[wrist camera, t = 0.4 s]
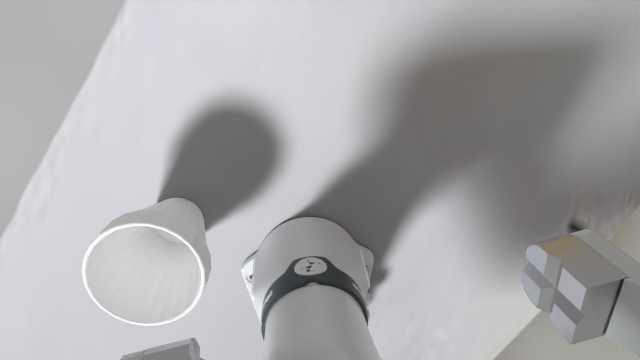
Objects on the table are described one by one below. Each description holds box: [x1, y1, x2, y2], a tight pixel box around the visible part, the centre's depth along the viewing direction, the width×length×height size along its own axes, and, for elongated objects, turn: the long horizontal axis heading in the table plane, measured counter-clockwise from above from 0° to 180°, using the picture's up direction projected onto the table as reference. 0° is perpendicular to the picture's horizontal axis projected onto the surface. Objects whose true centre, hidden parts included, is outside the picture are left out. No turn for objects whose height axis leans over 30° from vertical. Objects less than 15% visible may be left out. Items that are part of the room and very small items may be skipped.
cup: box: [82, 198, 211, 325], centre depth 47 cm, size 12×12×14 cm
